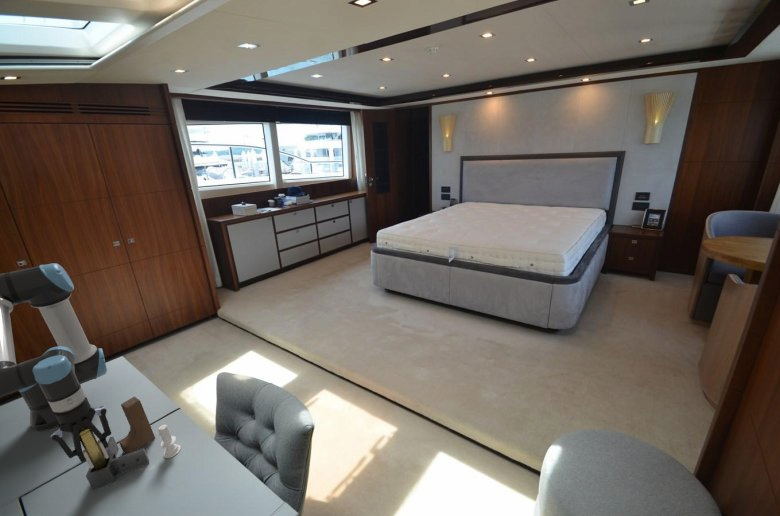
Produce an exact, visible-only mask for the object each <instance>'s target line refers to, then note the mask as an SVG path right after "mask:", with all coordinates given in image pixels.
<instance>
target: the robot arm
mask: <svg viewBox="0 0 780 516" xmlns="http://www.w3.org/2000/svg"><path fill="white" fill-rule="evenodd" d="M74 290H75V286H74V283H73V281H72V279H71V277H70V276H69V274H68V272H67V271H66V270H65V268H63V266H62V265H60V264H59V263H56V262H55V263H48V264H40V265H36V266H32V267H28V268H23V269H17V270H13V271H9V272H4V273H0V398H2V397H4V396H7V395H11V394H12V393H17V391H18V393H20V395H21V397H22V399H23V400H24V402H25V404H26V406H27V407H28V409H29V424H30V427H31V429H32V430H34V431H36V430H37V431H38V432H39V431H45V430H49V429H53V428H56V427H58V429H56V431H53V432H51V433H50V434H49V437H50V438H51V440H52V441H53V442H57V443H58V445H59V446H60V447H61V449H62V450H63V451H64V453H65V455H66V456H67V457H68V459H73V458H74V457H76V456H77V457H78V459H79V462H80V463H84V462H86V463H87V465H88V467H90V468H91V469H92V468H93V467H94V466H93V464H92V462H91V460H90V458H89V456H88V454H87V452H86V451H85V449H84V447H83V446H82V443H81V441H80V437H79V436H78V435H79V431H80V430H82V429H83V428H86V427H88V428H89V429H91V431H92V432H93V434H94V436H95V437H97V438H98V439H96V440H97V442H98V444H99V446H100V448H101V450H102V452H103V454H104V457H105V458H106V459H107V458H109V456H108V454H107V452H106V450H105V448H107V447H108V440H107V437H109V436H110V437H111V436H112V430H111V428H110V425H109V422H108V421H109V420H108V419H107V416H106V415H107V412H108V411H107V409H106V407H105V406H103V405H101V406H99V408H95V409H94V407H92V406H91V404H90V402H89V399H88V398H87V396H86V394H85V392H84V390H83V387H82V386H81V385H82V384H85V383H88V382H91V381H93V380H97V378H100V377H102V376H104V375H106V374H107V372H108V368H107V364H106V360H105V355H104V351H103V348H100V347H99V348H98V347H97V346H96V345H94V344H91V343H90V342H89V340H88V338H87V336H86V333H85V332H84V329H83V327H82V324H81V323H80V321H79V319H78V316H77V314H76V312H75V310H74V308H73V306H72V304H71V302H70V298H71V296H72V291H74ZM24 303H28V304H29V306H30V307H31V308H35V309H38V310H39V312H40V314H41V316H42V319H44V322H45V324H46V325H47V327H48V330H49V331H50V333H51V334H52V337H53V339H54V341H55V343H56V345H57V346H53V347H51V348H49V349H47V350H46V351H45V352H44V353H43V354H42V355H41V356H38V357H35V358H34V357H33V358H31V359H27V360H25V361H23V362H20V363H17V359H16V353H15V350H16V349H15V344H14V336H13V335H14V334H13V330H12V322H11V321H12V320H11V315H10V314H11V313H12V312H13V310H14V306H17V305H20V304H24ZM95 415H96V416H98V417H99V420H100V421H99V422H100V423H101V426H102V430H103V433H102V431H100V430H99V429H98V428H97V427H96V425H95V424H94V423H93V419H94V417H95ZM63 432H65V433H71V436H72V437H71V438H72V442H73V447H74V449H73V450H72V449H71V448H70V447H69V444H67V442H66V441H65V439H64V437H63V435H64V434H63ZM82 447H83V448H82Z"/></svg>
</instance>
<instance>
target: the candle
mask: <svg viewBox="0 0 780 516" xmlns="http://www.w3.org/2000/svg"><path fill="white" fill-rule="evenodd" d="M158 435H159V437H161V439H162V441H161V442H160V447H161V448H165V449H164V453H163V455H162V456H163V457H164V458H165V459H170V458H173V457H175V456H177V454H179V452H180V451H181V448H182V447H181V445H180V444H176V443H175V442H176V440H177V436H175V435H172V434H171V432H170V429H169V428H168V425H167V424H165V423H164V424H162V425H160V426H159V428H158Z"/></svg>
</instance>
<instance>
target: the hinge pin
mask: <svg viewBox="0 0 780 516" xmlns="http://www.w3.org/2000/svg"><path fill="white" fill-rule="evenodd" d="M78 436H79V437H80V442H81V446H82V447H83V448H84V449H85V451H86V452H87V454H88V456H89V458H90V460H91V462H92V464H93V466H94V468H95V470H96V471H97V470H100V469H102V468H105V467H107V465H108V463H107V461H106V459H105V457H104V454H103V452H102V450H101V448H100V446H99V444H98V442H97V440H98V439H97V438H96V435H95V434H94V433H93V432H92V431H91V429H89V428H88V427H86V428H83V429H82V430H80V431H79V435H78Z"/></svg>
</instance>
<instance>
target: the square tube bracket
mask: <svg viewBox="0 0 780 516" xmlns="http://www.w3.org/2000/svg"><path fill="white" fill-rule="evenodd" d="M107 443H108V447H107V448H105V450H106V452H107V454H108V456H109V458H107V459H106V458H105V459H106V461H107V463H108V465H107V467H105V468H102V469H100V470H97V471H96V470H95V468H94V467H93V468H92V469H91V468H90V466H88V467H89V468H88V470H87V473H86V475H85V478H86V480H87V481H88V483H89V485H90V487H91V490H95V489H98V488H101V487H104V486H106V485H108V484H111V483H114V482H116V481H117V477H118V475H121V474H123V472H124V473H125V472H128V470H129V471H131V469H132V470H134V469H137V468H139V466H140V467H142V465H143V466H146V465H148V464H150V462H149V461H150V458H149V456H148V454H147V452H146V449H145V447H142V448H140V449H139V450H137V451H134V452H131V453H128V454H124V455H120V456H118V457H117V455H118V453H119V450H120V448H119V446H118V444H117V441H116V440H115V437H114V436H110V437H109V438H108V440H107Z"/></svg>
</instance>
